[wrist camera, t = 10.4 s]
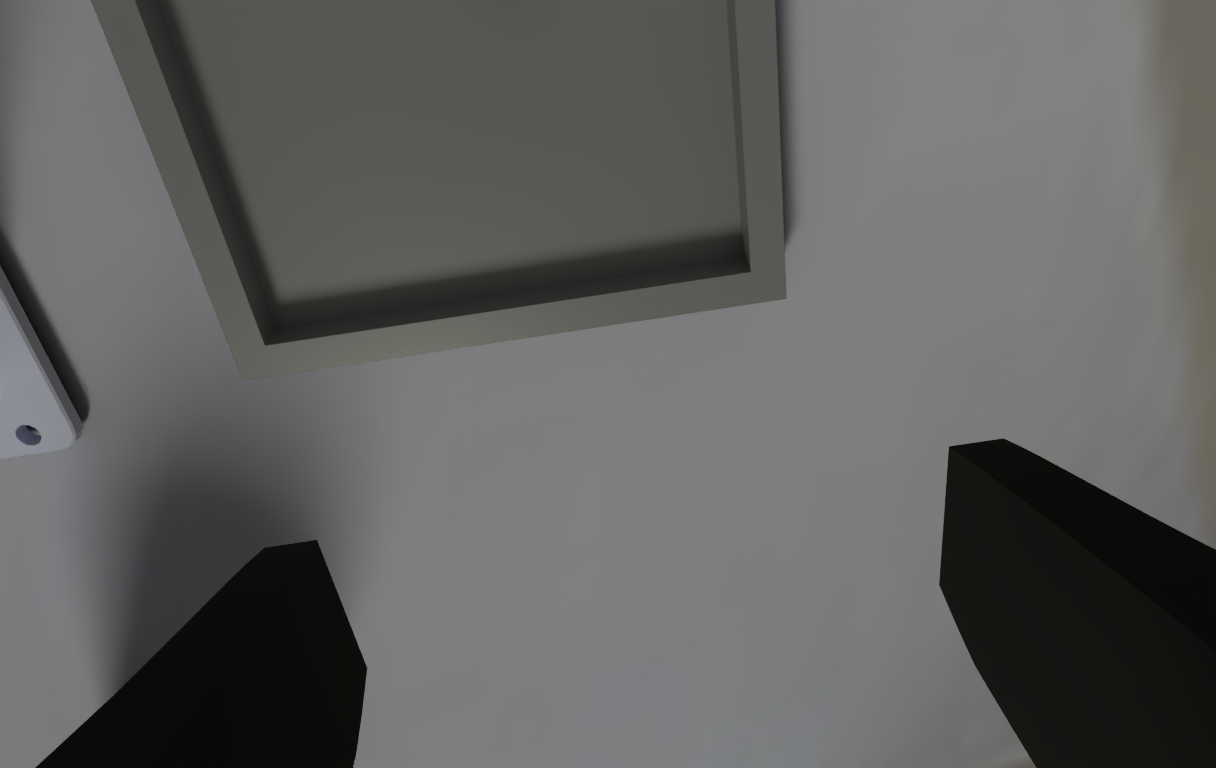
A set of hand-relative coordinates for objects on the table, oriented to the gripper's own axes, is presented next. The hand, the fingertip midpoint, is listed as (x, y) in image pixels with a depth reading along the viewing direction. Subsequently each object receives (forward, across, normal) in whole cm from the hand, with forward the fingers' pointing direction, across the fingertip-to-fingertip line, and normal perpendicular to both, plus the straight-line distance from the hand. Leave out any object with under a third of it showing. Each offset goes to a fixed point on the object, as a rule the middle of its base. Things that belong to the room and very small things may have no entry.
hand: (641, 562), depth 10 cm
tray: (+9, +2, -5) cm, 11 cm away
